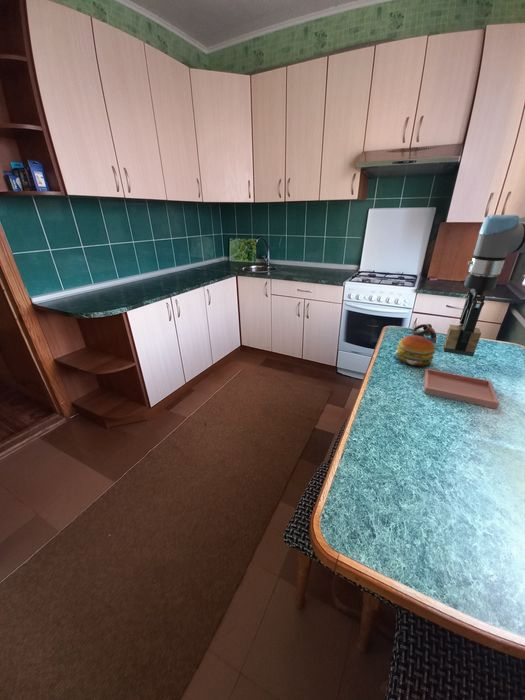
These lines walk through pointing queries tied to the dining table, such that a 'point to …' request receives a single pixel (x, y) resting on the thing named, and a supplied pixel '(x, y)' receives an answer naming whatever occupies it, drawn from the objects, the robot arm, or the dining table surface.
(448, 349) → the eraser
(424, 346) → the burger
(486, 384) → the tray
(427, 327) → the pottery mug
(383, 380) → the dining table surface
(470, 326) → the robot arm
